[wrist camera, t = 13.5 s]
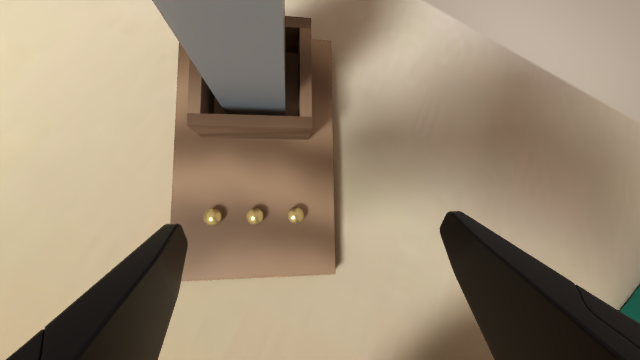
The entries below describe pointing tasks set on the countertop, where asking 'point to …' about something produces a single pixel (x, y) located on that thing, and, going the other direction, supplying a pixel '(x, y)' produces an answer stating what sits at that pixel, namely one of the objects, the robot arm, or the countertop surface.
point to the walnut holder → (257, 173)
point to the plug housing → (235, 50)
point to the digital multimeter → (633, 306)
